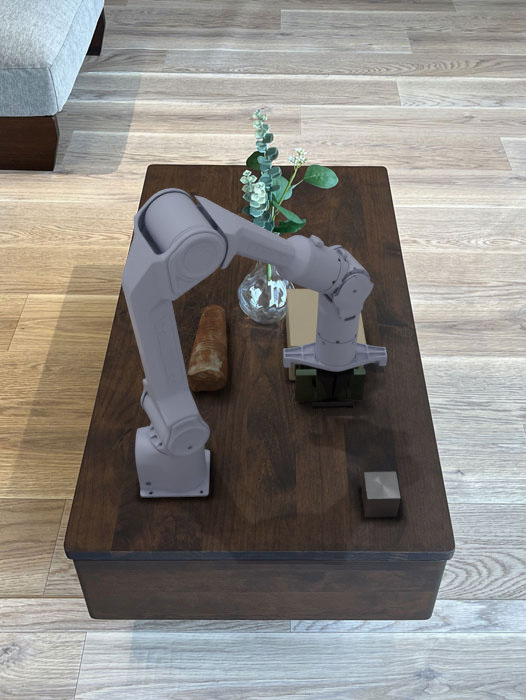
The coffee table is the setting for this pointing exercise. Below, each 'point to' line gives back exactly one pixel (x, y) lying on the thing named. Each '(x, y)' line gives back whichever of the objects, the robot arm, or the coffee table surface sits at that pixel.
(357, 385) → the drawer
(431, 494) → the coffee table surface
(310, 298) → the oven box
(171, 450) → the robot arm
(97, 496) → the coffee table surface
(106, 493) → the coffee table surface
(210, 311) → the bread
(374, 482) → the block
